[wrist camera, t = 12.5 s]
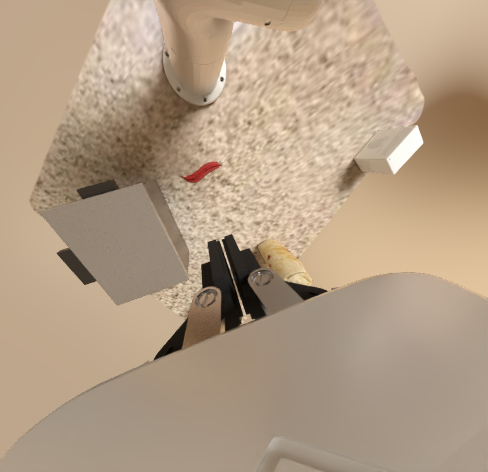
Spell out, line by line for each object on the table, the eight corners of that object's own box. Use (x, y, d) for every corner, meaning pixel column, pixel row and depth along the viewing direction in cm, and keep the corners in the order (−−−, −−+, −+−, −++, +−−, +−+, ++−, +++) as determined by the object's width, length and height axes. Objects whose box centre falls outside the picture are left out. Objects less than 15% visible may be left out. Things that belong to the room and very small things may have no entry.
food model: (253, 253, 59) (278, 293, 41) (259, 235, 57) (288, 270, 39) (278, 256, 62) (311, 296, 45) (285, 240, 60) (322, 274, 42)
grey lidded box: (81, 188, 40) (40, 199, 30) (151, 169, 42) (136, 173, 31) (139, 275, 52) (125, 305, 42) (191, 257, 54) (190, 281, 43)
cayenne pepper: (180, 183, 45) (179, 184, 44) (176, 164, 43) (175, 164, 42) (225, 179, 48) (226, 179, 46) (223, 160, 46) (224, 160, 44)
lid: (29, 214, 30) (23, 216, 29) (142, 182, 32) (140, 183, 31) (108, 305, 40) (106, 309, 39) (189, 276, 43) (189, 279, 41)
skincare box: (362, 172, 57) (394, 175, 48) (352, 158, 54) (385, 159, 45) (386, 145, 55) (425, 143, 46) (378, 129, 52) (417, 123, 43)
